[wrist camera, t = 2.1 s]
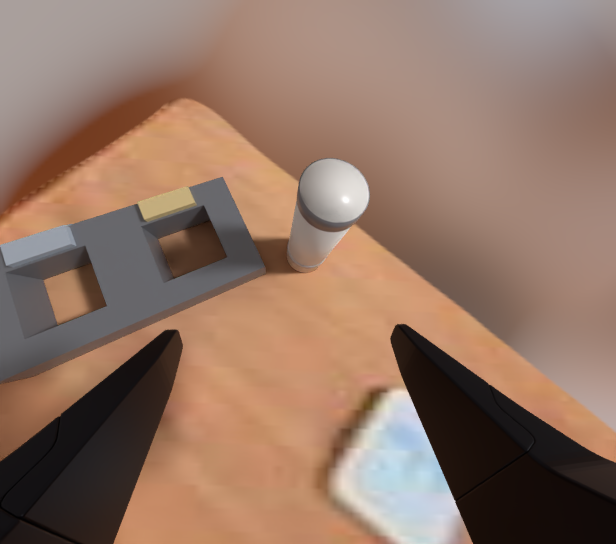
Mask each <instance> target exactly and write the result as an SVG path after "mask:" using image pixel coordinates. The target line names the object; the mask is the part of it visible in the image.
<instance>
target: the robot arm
mask: <svg viewBox="0 0 616 544" xmlns="http://www.w3.org/2000/svg"><path fill="white" fill-rule="evenodd" d="M390 340H391V344H392V348H393V351H394V354H395V357H396V360H397V364H398V367H399V370H400V373H401V376H402V378H403V381H404V383H405V385H406V388H407V390H408V392H409V395H410V397H411V399H412V402H413V404H414V406H415V409H416V411H417V413H418V416H419V418H420V420H421V423H422V425H423V427H424V430H425V432H426V434H427V437H428V439H429V441H430V444H431V446H432V448H433V451H434V453H435V455H436V458H437V460H438V462H439V465H440V467H441V469H442V472H443V474H444V476H445V479H446V481H447V484H448V486H449V488H450V491H451V493H452V495H453V498H454V500H455V501H456V502H455V503H456V505H457V507H458V510H459V512H460V514H461V517H462V519H463V521H464V524H465V526H466V528H467V531H468V533H469V535H470V538H471V540H472V542H473V544H616V463H615V462H613V461H610V460H608V459H605V458H603V457H601V456H599V455H597V454H595V453H593V452H591V451H590V450H588V449H586V448H585V447H583V446H581V445H580V444H578V443H577V442H575V441H573V440H572V439H570V438H569V437H567V436H566V435H564V434H563V433H561V432H560V431H558V430H556V429H555V428H553V427H552V426H550V425H549V424H547V423H546V422H544V421H542V420H541V419H539V418H538V417H536V416H535V415H533V414H532V413H530V412H529V411H527V410H526V409H524V408H523V407H521V406H520V405H518V404H517V403H515V402H514V401H512V400H511V399H509V398H508V397H507V396H505V395H504V394H502V393H501V392H499V391H498V390H497V389H495V388H494V387H493V386H491V385H489V384H488V383H487V382H486V381H484V380H483V379H481V378H480V377H479V376H477V375H476V374H474V373H473V372H472V371H470V370H469V369H467V368H466V367H465V366H463V365H462V364H460V363H459V362H458V361H456V360H455V359H454V358H452V357H451V356H449V355H448V354H447V353H445V352H444V351H442V350H441V349H440V348H438V347H437V346H435V345H434V344H433V343H431V342H430V341H428V340H427V339H426V338H424V337H423V336H421V335H420V334H419V333H417V332H416V331H415V330H413V329H412V328H410V327H409V326H408V325H406V324H397V325H396V326H395V328H394V330H393V332H392V335H391V338H390ZM182 349H183V344H182V340H181V337H180V334H179V331H178V330H165V331H164V332H162V333H161V334H160V335H159V336H157V337H156V338H155V339H154V340H152V341H151V342H150V343H149V344H147V345H146V346H145V347H144V348H143V349H141V350H140V351H139V352H138V353H136V354H135V355H134V356H133V357H131V358H130V359H129V360H128V361H126V362H125V363H124V364H123V365H121V366H120V367H119V368H118V369H116V370H115V371H114V372H113V373H112V374H110V375H109V376H108V377H107V378H105V379H104V380H103V381H102V382H100V383H99V384H98V385H97V386H95V387H94V388H93V389H92V390H90V391H89V392H88V393H87V394H86V395H84V396H83V397H82V398H81V399H79V400H78V401H77V402H76V403H74V404H73V405H72V406H71V407H69V408H68V409H67V410H66V411H64V412H63V413H62V414H61V416H60V417H57V418H56V419H54V420H53V421H52V422H51V423H49V424H48V425H47V426H46V427H44V428H43V429H42V430H41V431H39V432H38V433H37V434H36V435H34V436H33V437H32V438H30V439H29V440H28V441H27V442H25V443H24V444H23V445H22V446H20V447H19V448H18V449H16V450H15V451H14V452H12V453H11V454H10V455H8V456H7V457H6V458H4V459H3V460H2V461H0V544H113V543H114V540H115V538H116V535H117V533H118V530H119V527H120V525H121V522H122V519H123V517H124V514H125V512H126V509H127V506H128V504H129V501H130V498H131V496H132V493H133V491H134V488H135V485H136V483H137V480H138V477H139V475H140V472H141V470H142V467H143V464H144V462H145V459H146V456H147V454H148V451H149V449H150V446H151V443H152V441H153V438H154V435H155V433H156V430H157V428H158V425H159V422H160V420H161V417H162V414H163V412H164V409H165V407H166V404H167V401H168V399H169V396H170V393H171V390H172V387H173V384H174V380H175V376H176V372H177V369H178V365H179V361H180V357H181V353H182Z"/></svg>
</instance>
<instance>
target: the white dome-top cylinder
mask: <svg viewBox="0 0 616 544" xmlns="http://www.w3.org/2000/svg"><path fill="white" fill-rule="evenodd" d="M369 199H370V192H369V187H368V183H367V181H366V179H365V177H364V176H363V174H362V173H361V172H360V171H359V170H358V169H357V168H356V167H354V166H353V165H352V164H350V163H348V162H346V161H344V160H340V159H335V158H325V159H320V160H317V161H315V162H313V163H311V164H310V165H309V166H308V167H307V168H306V169H305V170H304V171H303V173H302V175H301V177H300V181H299V186H298V191H297V201H296V206H295V212H294V217H293V222H292V227H291V233H290V238H289V241H288V246H287V260H288V262H289V264H290V266H291V267H292V268H293V269H295V270H296V271H299V272H302V273H308V272H312V271H314V270H316V269H317V268H318V267H319V266H320V265H321V264H322V263H323V262H324V260H325V259H326V258H327V256H328V255H329V253H330V252H331V251H332V250H333V248H334V247H335V246H336V245H337V243H338V242H339V241H340V240H341V239H342V237H343V236H344V235H345V234H346V232H347V231H348V230H349V229H350V227H351V226H352V225H354V224H355V222H356V221H357V220H358V219H359V218H360V216H361V215H362V214H363V213H364V211H365V210H366V208H367V206H368V203H369Z"/></svg>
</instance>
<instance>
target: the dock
mask: <svg viewBox="0 0 616 544" xmlns="http://www.w3.org/2000/svg"><path fill="white" fill-rule="evenodd" d="M137 203H138V204H135V205H132V206H129V207H126V208H122V209H119V210H116V211H113V212H110V213H107V214H103V215H100V216H97V217H94V218H91V219H88V220H84V221H81V222H78V223H75V224H69V225H62V226H59V227H56V228H53V229H50V230H47V231H43V232H40V233H37V234H34V235H31V236H28V237H24V238H21V239H18V240H15V241H12V242H8V243H5V244H2V245H0V384H2V383H7V382H11V381H16V380H20V379H25V378H29V377H33V376H35V375H38V374H40V373H42V372H44V371H47V370H49V369H51V368H53V367H56V366H58V365H60V364H63V363H65V362H67V361H69V360H72V359H74V358H76V357H78V356H81V355H83V354H85V353H87V352H90V351H92V350H94V349H97V348H99V347H101V346H103V345H106V344H108V343H110V342H112V341H115V340H117V339H119V338H121V337H124V336H126V335H128V334H131V333H133V332H135V331H137V330H140V329H142V328H144V327H146V326H149V325H151V324H153V323H155V322H158V321H160V320H162V319H165V318H167V317H169V316H171V315H174V314H176V313H178V312H180V311H183V310H185V309H187V308H189V307H192V306H194V305H196V304H198V303H201V302H203V301H205V300H208V299H210V298H212V297H214V296H217V295H219V294H221V293H223V292H226V291H228V290H230V289H232V288H235V287H237V286H239V285H242V284H244V283H246V282H248V281H251V280H253V279H255V278H257V277H260V276H262V275H264V274H266V269H265V265H264V263H263V261H262V259H261V257H260V255H259V253H258V250H257V248H256V246H255V244H254V242H253V240H252V238H251V236H250V234H249V231H248V229H247V227H246V225H245V223H244V221H243V219H242V217H241V215H240V212H239V210H238V208H237V206H236V204H235V202H234V200H233V198H232V196H231V193H230V191H229V189H228V187H227V185H226V183H225V181H224V179H223V177H220V178H217V179H214V180H211V181H208V182H205V183H201V184H198V185H195V186H192V187H188V186H186V187H183V188H180V189H177V190H174V191H171V192H167V193H164V194H161V195H158V196H155V197H152V198H148V199H145V200H142V201H139V202H137ZM209 220H211V222H212V224H213V226H214V229H215V231H216V233H217V235H218V237H219V240H220V242H221V244H222V246H223V248H224V251H225V253H226V255H227V258H224V259H222V260H219V261H217V262H214V263H212V264H209V265H207V266H205V267H202V268H200V269H197V270H195V271H192V272H190V273H187V274H185V275H182V276H180V277H177V278H175V279H174V277H173V275H172V272H171V270H170V267H169V265H168V263H167V260H166V258H165V255H164V253H163V250H162V248H161V245H160V243H159V241H158V239H159V238H162V237H164V236H167V235H170V234H173V233H175V232H178V231H181V230H184V229H187V228H189V227H192V226H195V225H198V224H201V223H203V222H206V221H209ZM89 263H92V266H93V268H94V271H95V274H96V277H97V280H98V283H99V285H100V288H101V291H102V294H103V297H104V299H105V302H106V305H107V306H106V307H103V308H101V309H98V310H96V311H93V312H91V313H88V314H86V315H84V316H81V317H79V318H76V319H74V320H71V321H69V322H66V323H64V324H61V325H59V326H58V325H57V322H56V319H55V315H54V312H53V309H52V306H51V303H50V300H49V297H48V294H47V290H46V287H45V284H44V281H43V280H44V279H47V278H50V277H53V276H55V275H58V274H61V273H64V272H67V271H69V270H72V269H75V268H78V267H81V266H83V265H86V264H89Z"/></svg>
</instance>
